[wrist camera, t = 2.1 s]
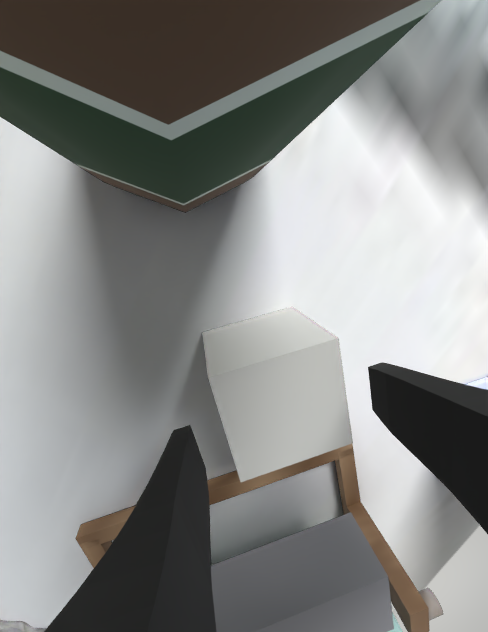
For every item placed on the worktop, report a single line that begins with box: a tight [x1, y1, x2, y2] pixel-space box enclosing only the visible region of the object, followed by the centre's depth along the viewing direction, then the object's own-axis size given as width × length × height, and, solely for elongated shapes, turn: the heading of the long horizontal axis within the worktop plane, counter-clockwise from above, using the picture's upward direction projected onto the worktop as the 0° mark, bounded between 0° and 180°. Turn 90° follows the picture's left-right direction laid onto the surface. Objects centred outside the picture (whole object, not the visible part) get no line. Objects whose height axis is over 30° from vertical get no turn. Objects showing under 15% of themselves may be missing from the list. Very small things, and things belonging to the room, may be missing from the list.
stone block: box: [202, 307, 353, 482], centre depth 13 cm, size 5×5×5 cm
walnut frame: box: [76, 444, 443, 632], centre depth 16 cm, size 18×14×6 cm
